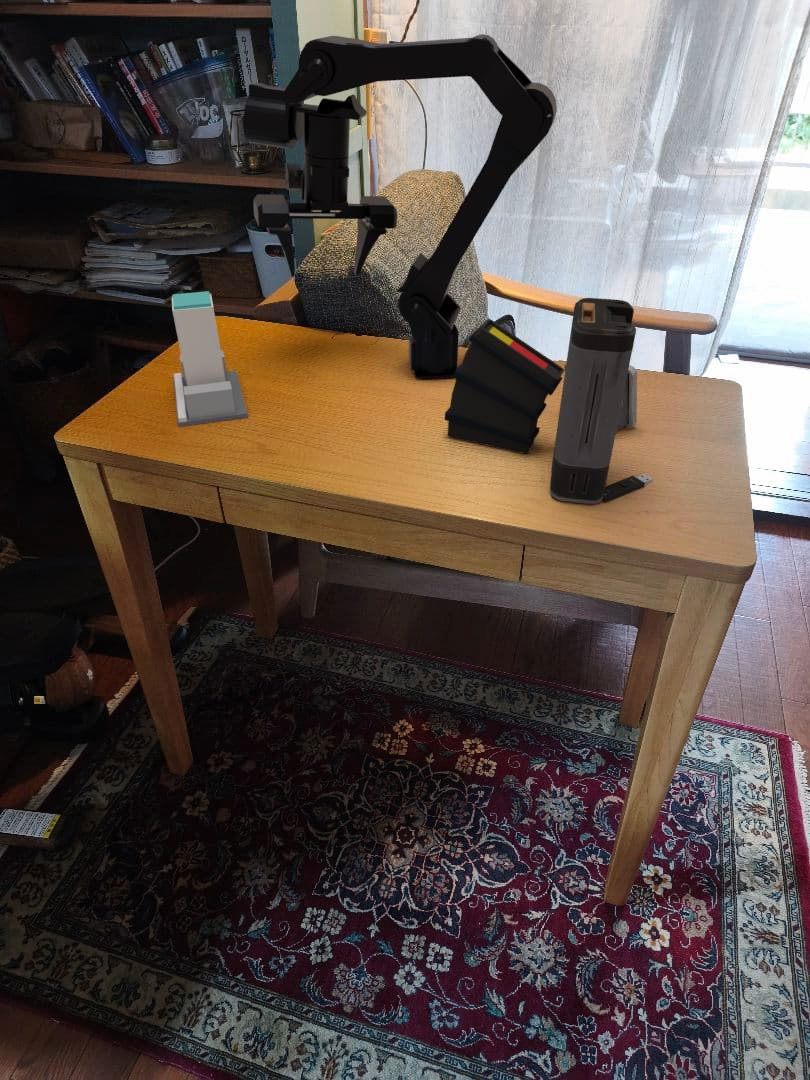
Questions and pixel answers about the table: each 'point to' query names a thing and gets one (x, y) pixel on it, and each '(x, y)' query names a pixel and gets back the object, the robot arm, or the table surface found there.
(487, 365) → the magazine
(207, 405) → the rail board
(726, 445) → the table surface
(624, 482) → the usb flash drive
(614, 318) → the electronic device
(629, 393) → the electrical switch
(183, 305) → the block
